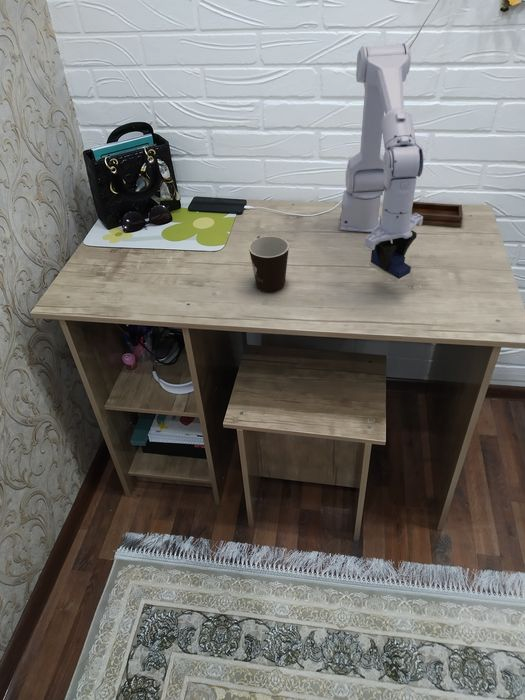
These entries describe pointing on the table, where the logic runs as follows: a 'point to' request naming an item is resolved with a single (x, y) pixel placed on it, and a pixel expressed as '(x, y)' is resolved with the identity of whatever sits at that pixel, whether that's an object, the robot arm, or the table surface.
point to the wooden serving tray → (439, 214)
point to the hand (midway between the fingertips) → (390, 264)
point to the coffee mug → (269, 262)
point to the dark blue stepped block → (392, 266)
